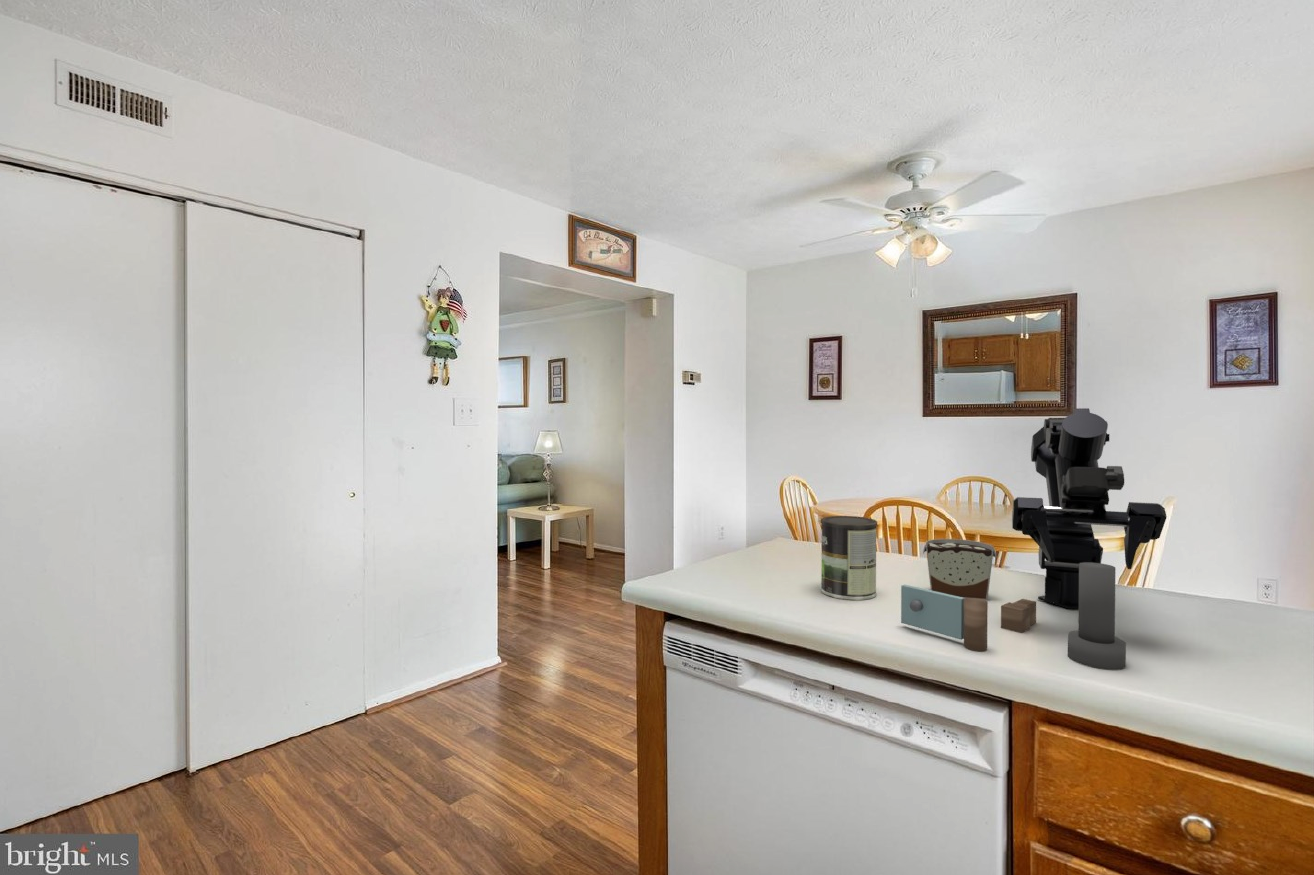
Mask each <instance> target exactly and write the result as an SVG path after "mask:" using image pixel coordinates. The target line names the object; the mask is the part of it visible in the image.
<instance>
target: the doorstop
mask: <svg viewBox="0 0 1314 875" xmlns="http://www.w3.org/2000/svg"><path fill="white" fill-rule="evenodd" d="M1077 622H1078V630H1071V631H1068V632H1067V658H1069V660H1072V661H1073V662H1075V663H1077V664H1079V665H1083V666H1086V667H1091V668H1094V669H1095V668H1096V669H1099V670H1100V669H1101V670H1108V671H1109V670H1111V671H1117V670H1123V669H1125V668H1126V666H1127V663H1126V662H1127V661H1126V660H1127V642H1126V641H1125V640H1123V639H1122V638H1120V637H1117V636H1115V635H1116V631H1115V630H1116V566H1114V565H1112V564H1106V563H1102V562H1101V563H1091V562H1084V563H1079V608H1078V621H1077Z"/></svg>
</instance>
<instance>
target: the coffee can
mask: <svg viewBox="0 0 1314 875" xmlns="http://www.w3.org/2000/svg"><path fill="white" fill-rule="evenodd" d="M820 523H821V576H820V579H821V587H820V592H821V593H822V594H823V595H825V596H827V597H832V598H834V599H839V600H846V601H865V600H866V601H867V600H871V599H874V598H875V597H876V596H877V526H878V521H877V520H876V519H873V518H869V517H864V516H854V515H830V516H824V517H821V519H820Z"/></svg>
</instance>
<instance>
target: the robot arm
mask: <svg viewBox="0 0 1314 875" xmlns="http://www.w3.org/2000/svg"><path fill="white" fill-rule="evenodd" d="M1073 410H1074V411H1073V412H1072V413H1070V414H1068V415H1067V416H1065V417H1048V418H1045V419H1043V426H1042V427H1041V428H1040V429H1039V430H1038V431H1036V433H1034V434H1033V435H1032V437H1031V438H1032V439H1031V448H1030V459H1031V460H1030V461H1031V462H1033V463H1034V467H1035V472H1036V473H1038V474H1039V475H1040V476H1042V477H1044V478H1045V479H1046V482H1045V483H1046V489H1047V496H1048V497H1047V498H1048V504H1049V506H1044V498H1041V497H1024V496H1023V497H1021V496H1017V497H1015V498H1014V499H1013V501H1012V514H1011V524H1012V526H1011V527H1012V530H1015V531H1018V532H1021V534H1022V535H1024V536H1029V537H1030V538H1031V539H1032V540H1033V541H1034V542H1035V543H1036V544H1037V545H1038V546H1039V548H1038V565H1039V567H1040V569H1041V570H1045V577H1044V595H1039V596H1037V600H1039V601H1043V602H1046V603H1049V604H1052V605H1056V606H1059V607H1062V608H1065V609H1068V610H1074V609H1075V610H1076V609H1079V563H1084V562H1091V563H1101V564H1102V558H1103V553H1104V547H1102V546H1101V544H1100V541H1099V539H1098V538H1095V534H1094V531H1093V526H1092V525H1094V526H1095V525H1097V526H1108V527H1109V526H1110V527H1111V526H1112V527H1123V528H1124V529H1123V530H1124V538H1123V543H1124V544H1123V546H1124V547H1123V548H1124V557H1125V558H1124V560H1125V561H1124V562H1125V565H1126V568H1127V569H1128V570H1132V567H1133V564H1134V561H1135V558H1136V553H1137V550H1138V549H1139V547H1140V545H1141V544H1148V543H1150V541H1152V540H1153V541H1155V540H1158V539H1160V537H1161V535H1162V532H1163V529H1164V525H1165V523H1166V521H1167V513H1166V510H1165V509H1166V508H1165V507H1164V506H1162V504H1160V503H1157V502H1154V503H1153V502H1138V501H1137V502H1134V501H1132V502H1131V501H1129V502H1128V505H1127V508H1126V511H1114V510H1113V511H1112V510H1107V509H1106V506H1108V505H1109V504H1110V497H1109V491H1111V490H1112V491H1113V490H1114V491H1115V490H1116V491H1121V490H1122V489H1123V488H1124V486H1125V472H1124V470H1123V466H1121V465H1119V466H1118V465H1107V466H1106V467H1100V466H1099V460H1100V459H1101V457H1102V455H1103V452H1104V446H1106V444H1107V442H1110V434H1109V433H1107V431H1108V425H1109V424H1108V421H1107V420H1105V419H1104V418H1103V417H1102V416H1100V415H1099V414H1096V413H1092V412H1091V411H1090V408H1087V407H1085V408H1084V407H1083V408H1074V409H1073Z"/></svg>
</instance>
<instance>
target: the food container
mask: <svg viewBox="0 0 1314 875" xmlns="http://www.w3.org/2000/svg"><path fill="white" fill-rule="evenodd" d="M925 552H926V558H927V559H926V560H927V567H928V568H927V570H928V576H929V586H930V590H932V591H936V592H940V593H945V594H949V595H954V596H958V597H963V598H978V599H983V600H986V601H987V602H988V599H989V598H988V597H989V591H990V590H989V589H990V582H991V573H992V565H993V557H994V558H995V559H997V557H998V556H997V553H996V552H997V551H996V550H995V549H994V545H991V544H989V543H985V542H982V541H976V540H969V539H961V538H959V539H958V538H957V539H956V538H935V539H930V540H926V542H925V544H924V547H923V551H922V554H925Z"/></svg>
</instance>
